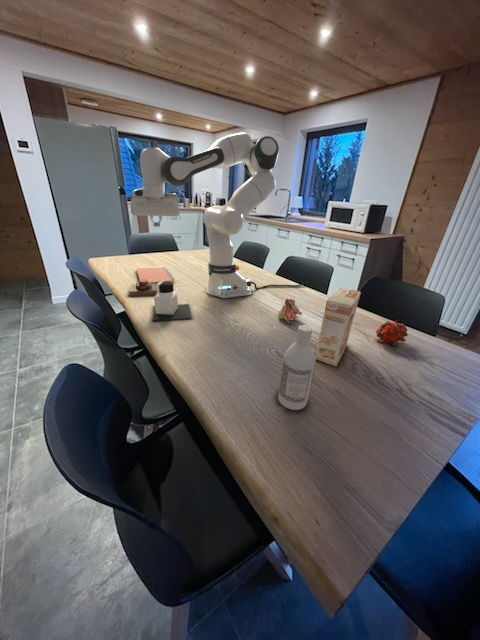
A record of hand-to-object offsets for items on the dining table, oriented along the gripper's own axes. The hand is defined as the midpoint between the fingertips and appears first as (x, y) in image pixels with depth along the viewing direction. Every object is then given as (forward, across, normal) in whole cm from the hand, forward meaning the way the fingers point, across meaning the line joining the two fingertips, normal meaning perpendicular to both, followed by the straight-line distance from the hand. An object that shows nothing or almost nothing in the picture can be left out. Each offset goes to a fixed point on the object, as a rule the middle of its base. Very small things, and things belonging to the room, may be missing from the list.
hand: (156, 226), depth 118 cm
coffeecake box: (+29, -53, +68) cm, 91 cm away
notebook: (+29, +4, -19) cm, 35 cm away
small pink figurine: (+29, -50, +43) cm, 72 cm away
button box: (+29, +8, +4) cm, 30 cm away
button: (+26, +8, +4) cm, 27 cm away
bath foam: (+29, -31, +86) cm, 96 cm away
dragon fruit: (+29, -77, +66) cm, 106 cm away
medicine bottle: (+29, -2, +29) cm, 41 cm away
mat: (+29, -4, +30) cm, 42 cm away
